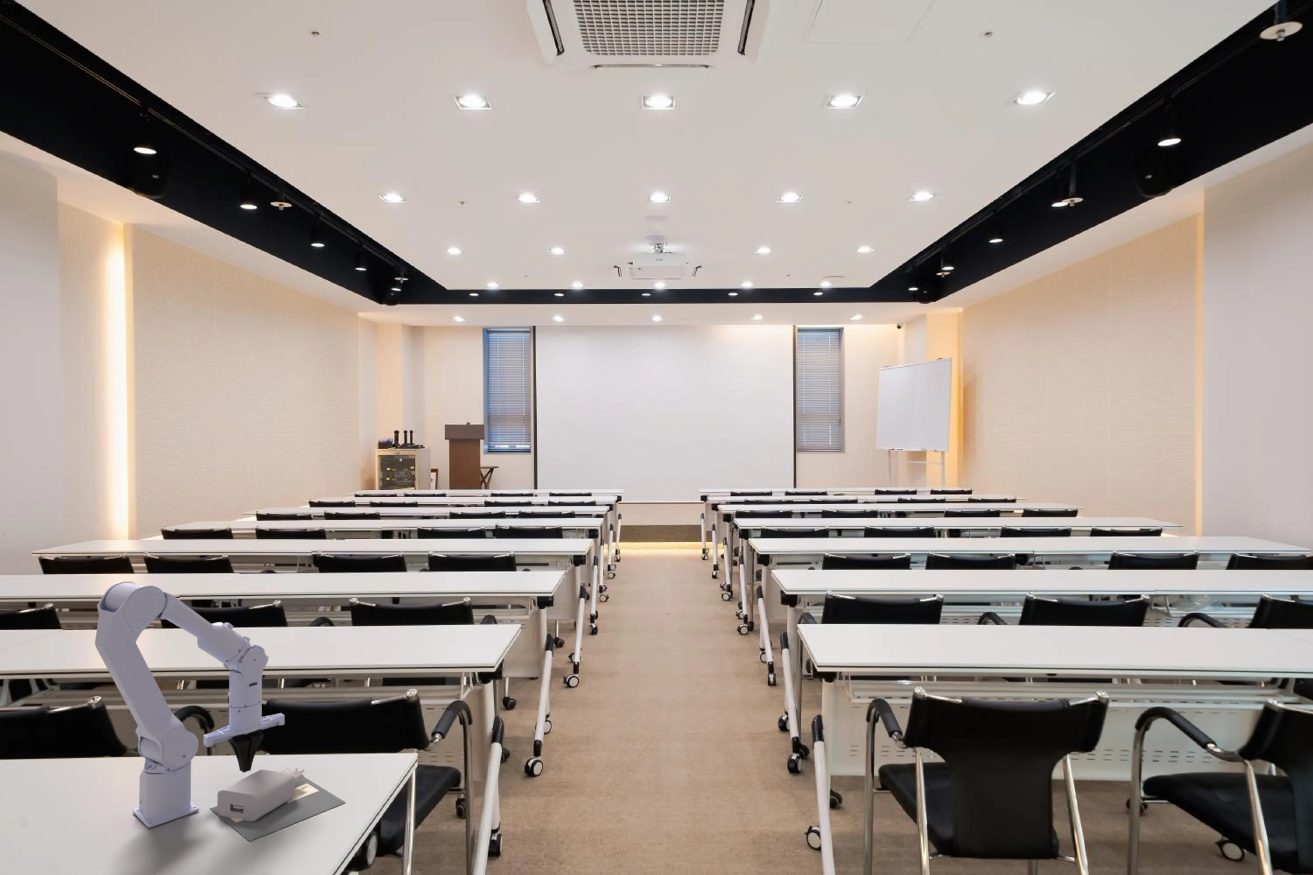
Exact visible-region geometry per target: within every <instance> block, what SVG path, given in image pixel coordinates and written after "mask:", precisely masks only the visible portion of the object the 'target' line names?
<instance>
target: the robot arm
mask: <svg viewBox="0 0 1313 875" xmlns="http://www.w3.org/2000/svg"><path fill="white" fill-rule="evenodd" d="M96 608H97V612H98V621H97V627H96V634H95V639H94V645H95V649H96V651H98V652H97V653H98V654H99V656H100V657H101V660H102V661H103V663H104V665H105V667H106V668H107V670H108V672H109V674H110V676H111V677H112V680H113V682H114V683H115V685H116V687H117V689H118V691H119V693H120V696H121V697H122V698H123V700H124V702H125V704H126V706H127V709H129V712H130V713H131V715H132V717H133V719H134V722H136V724H137V727H136V729H135V734H136V735H137V740H138V741H137V742H138V743H137V751H138V753H139V755H140V756H141V757H143V758H144V766H143V768H142V770H141V772H140V775H139V789H138V790H139V791H138V792H139V795H138V796H139V797H138V801H139V803H138V804H139V806H138V807H135V808H134V809H132V813H133V814H134V815H135V816H136V817H137V818H138V820H140V821H141V822H142V824H144V825H145V826H146V827H147V828H149V829H150V828H153V827H156V826H158V825H163V824H165V823H168V822H171V821H173V820H176V819H179V818H181V817H184V816H187V815H188V816H189V815H190V814H193V813H195V812H198V811H199V810H200V808H199V806H198V805H196V804H195V803H194V802H193V801H192V800H191V799H192V797H191V793H192V789H191V788H192V786H191V785H192V760H193V759H194V758H195V756H196V755H197V752H198V749H199V739H198V737H197V735H196V734H194V733H193V732H191V731H188V730H187V729H186V727H185V725H184V724H183V722H182V721H181V720H180V719H178V717H177V716H175V714H174V713H173V712H172V711H171V708H170V706H169V705H168V702H167V701H166V699H165V697H164V695H163V693H162V691H161V689H160V687H159V685H158V683H157V681H156V679H155V677H154V676H153V673H152V671H151V670H150V668H149V666H148V663H147V662H146V660H145V658H144V655H143V654H142V652H141V650H140V648H139V647H138V645H137V641H138V638H140V636H141V634H142V632H143V631H145V629H146V628H148V626H149V625H150V624H151V623H152V622H153V621H155V620H156V619H158V620H167V621H168V622H170V623H172V624H174V625H175V626H176V627H179V628H180V629H182V630H183V631H184V632H185V631H186V632H187V633H189V634H190V635H193V637H196V639H197V642H196V643H197V647H198V648H199V649H200V650H202V651H203V652H205V653H207V654H208V655H210V656H211V657H213V658H214V659H216V660H217V661H219V662H220V663H222V665H223V667H224V668H225V669H227V670H228V669H229V672H228V674H229V677H228V678H229V680H228V681H229V682H228V683H229V686H228V688H229V690H228V692H229V693H228V694H229V696H228V697H229V698H228V701H229V702H228V703H229V705H228V709H229V710H228V711H229V712H228V725H226V726H224V727H222V728H219V729H216V730H215V731H212V732H208V733H206V734H203V746H205V747H206V748H210V747H212V746H214V745H216V744H218V743H222V742H225V741H227V742H228V744H230V746H231V748H232V750H233V752H234V754H235V757H236V759H237V760H236V761H237V764H238V768H239V771H240V772H242V773H247V772H249V771H251V770H252V766H253V763H254V762H253V761H254V758H255V756H256V753H257V750H258V748H259V747H260V744H261V743H262V741H263V740H264V733H263V732H262V730H265V729H269V728H272V727H275V726H284V725H285V714H283V713H282V712H280V713H276V714H271V715H266V716H262V712H263V711H262V710H263V709H262V706H263V705H262V700H263V699H262V697H263V693H262V691H263V688H262V686H263V682H262V681H263V679H262V678H263V671H264V669H265V668H266V666H267V664H268V661H269V655H267V653H266V650H265V648H263V647H262V646H260V645H257V644H252V643H251V642H250V641H251V638H250V637H249V636H246V635H243V636H242V635H241V634H240V633H238V632H236V631H235V630H234V629H233V628H234V625H232V624H231V623H230V622H224V623H223V622H221V621H219V622H214V623H211V622H209V621H208V620H207V619H205V618H204V617H202V616H201V615H200V614H199V613H197V612H196V611H194V610H193V609H192V608H190V607H189V606H188V605H186V604H185V603H184V602H183V601H181V600H180V599H178V598H177V596H174V595H173V594H172V593H171V594H170V593H168V592H165V591H163V590H162V589H161V588H160V587H157V586H155V585H150V584H149V585H148V584H147V585H146V584H141V583H140V584H139V583H135V582H134V581H126V580H125V581H123V580H122V581H120V582H116V583H115V584H113V585H111V586H110V587H109V588H108V589H106V591H105V592H104V594H103V596H102V597H101V598H100V600H99V601H98V603H97V605H96Z"/></svg>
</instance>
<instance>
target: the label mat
mask: <svg viewBox="0 0 1313 875" xmlns="http://www.w3.org/2000/svg"><path fill="white" fill-rule="evenodd" d="M346 803H347V802H346V801H344V800H343V799H341V798H339V797H338V796H336V795H335V794H333V793H331V792H329V791H328V790H327V789H325V788H323V787H322V786H320V785H318V784H316V783H315V782H314V781H311V780H310V779H309V778H306V777H305V776H304V777H303V778H302V779H301V780H299V781H297V782H296V783H295V796H294V797H293V798H292V799H290V800H288V801H287V802H285V803H283V804H282V805H280V806H278V807H277V808H275V809H273V810H272V811H270V812H268V813H267V814H265V815H263V816H262V817H260V818H259V819H257V820H255V821H246V820H241V819H235V818H230V817H224V816H221V815H220V814H219V813H218V811H217V805H216V806H212V807H210V808H209V810H210V811H212V812H213V813H214V815H215V814H216V815H217V816H218V817H219V818H220V819H221V820H223V822H224V823H226V824H227V825H229V827H231V828H232V829H233V830H235V831H236V832H237V833H238V834H239V835H241V836H242V837H243V838H244V839H245V840H246V841H248V842H249V843H250V842H253V841H255V840H257V839H260V838H262V837H264V836H267V835H270V834H272V833H274V832H277V831H279V830H282V829H285V828H286V827H287V828H288V827H289V826H292V825H295V824H297V823H300V822H301V821H304V820H307V819H309V818H312V817H314V816H316V815H319V814H322V813H324V812H327V811H329V810H332V809H334V808H337V807H338V806H341V805H344V804H346Z"/></svg>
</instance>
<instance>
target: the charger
mask: <svg viewBox="0 0 1313 875" xmlns="http://www.w3.org/2000/svg"><path fill="white" fill-rule="evenodd" d="M304 772H305V769H301V770H298V768H297V767H296V768H294V769H293V768H286V769H283V770H281V771H276V770H274V771H273V770H268V769H260V770H257V771H255V772H253V773H251V774H249V775H248V776H246V777H244V778H242V779H240V780H238V781H237V782H236V781H235V783H233V784H231V785H229V786H226V787H224V788H223V789H222V790H219V791H218V792H217V805H216V806H217V811H218V813H219V814H220V815H221V816H224V817H230V818H235V819H241V820H246V821H255V820H257V819H259V818H260V817H262V816H263V815H265V814H267V813H268V812H270V811H272V810H273V809H275V808H277V807H278V806H280V805H282V804H283V803H285V802H287V801H288V800H290V799H292V798H293V797H294V796H295V783H296V782H297V781H299V780H301V779H302V778H303V777H305V776H304V774H303V773H304Z"/></svg>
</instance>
